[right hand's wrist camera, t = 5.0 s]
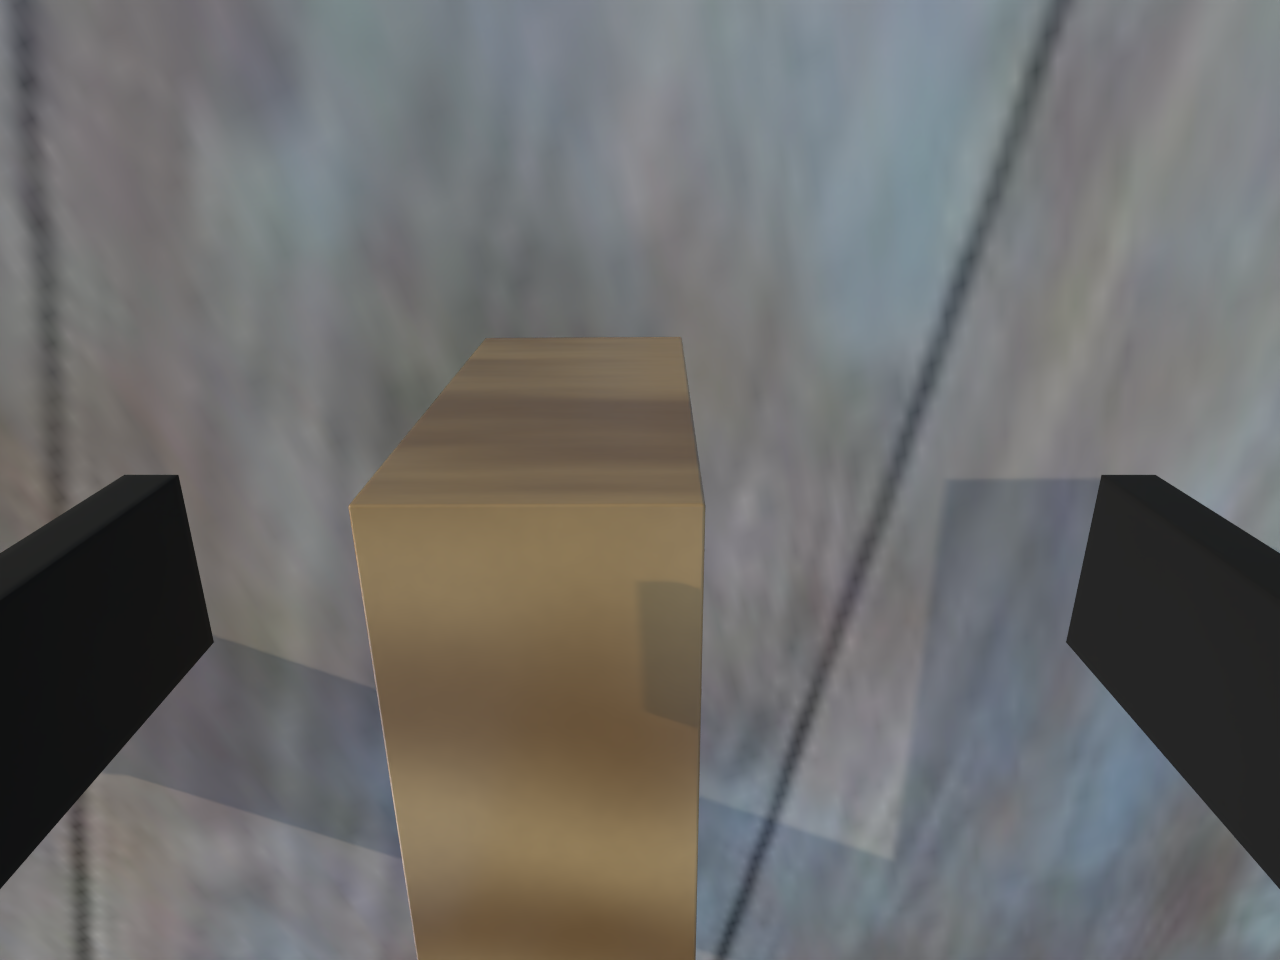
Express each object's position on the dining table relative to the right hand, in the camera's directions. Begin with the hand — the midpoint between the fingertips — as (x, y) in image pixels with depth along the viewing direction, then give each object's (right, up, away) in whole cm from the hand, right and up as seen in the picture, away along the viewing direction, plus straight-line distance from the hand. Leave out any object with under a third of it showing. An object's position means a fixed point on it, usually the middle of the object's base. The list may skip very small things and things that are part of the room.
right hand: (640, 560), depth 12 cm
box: (-2, -4, +18) cm, 18 cm away
